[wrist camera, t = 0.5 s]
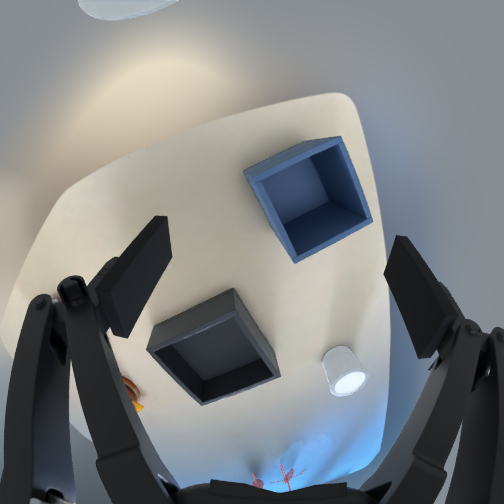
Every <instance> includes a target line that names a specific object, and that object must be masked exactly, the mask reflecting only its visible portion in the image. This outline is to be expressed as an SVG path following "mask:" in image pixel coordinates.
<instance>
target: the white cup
mask: <svg viewBox="0 0 504 504" xmlns="http://www.w3.org/2000/svg"><path fill="white" fill-rule="evenodd" d="M322 364H323V367H324V370H325V374H326V377H327V380H328V384H329V387H330V390H331V392H332V394H333V395H335V396H338V397H339V396H347V395H350V394H353V393H354V392H356V391H358V390H359V389H360V388H362V387H363V386H364V385H365V383H366V382H367V380H368V376H369V374H368V372H367V370H366V369H365V367H364V366H363V365H362V364H361V362H360V361H359V360H358V359H357V357H356V356H355V355H354V354H353V352H352V351H351V350H350V349H349V348H348V347H346V346H337V347H334V348H332V349H330V350H329V351H328V352H327V353H326V354H325V355H324V357H323V359H322Z"/></svg>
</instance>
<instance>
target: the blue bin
mask: <svg viewBox="0 0 504 504" xmlns="http://www.w3.org/2000/svg"><path fill="white" fill-rule="evenodd" d="M243 173H244V174H245V176H246V178H247V180H248V182H249V184H250V186H251V188H252V190H253V192H254V194H255V196H256V198H257V200H258V201H259V203H260V205H261V207H262V209H263V211H264V213H265V215H266V217H267V219H268V221H269V223H270V225H271V227H272V229H273V231H274V233H275V234H276V236H277V237H278V239H279V241H280V242H281V244H282V245H283V247H284V248H285V250H286V251H287V253H288V255H289V256H290V258H291V259H292V261H293V262H294V264H296V263H297V262H299V261H301V260H303V259H305V258H307V257H309V256H311V255H313V254H315V253H317V252H318V251H320V250H322V249H324V248H326V247H328V246H330V245H332V244H334V243H335V242H337V241H339V240H341V239H343V238H345V237H347V236H348V235H350V234H352V233H354V232H356V231H358V230H360V229H361V228H363V227H365V226H367V225H369V224H370V223H372V222H373V219H372V217H371V213H370V210H369V207H368V204H367V201H366V198H365V195H364V193H363V190H362V187H361V184H360V182H359V179H358V176H357V174H356V171H355V169H354V166H353V164H352V161H351V159H350V156H349V154H348V151H347V149H346V147H345V144H344V142H343V140H342V138H341V136H336V137H329V138H322V139H315V140H309V141H305V142H302V143H300V144H298V145H296V146H294V147H291V148H289V149H287V150H285V151H283V152H281V153H278V154H276V155H274V156H272V157H270V158H268V159H266V160H264V161H262V162H260V163H258V164H256V165H254V166H252V167H250V168H248V169H246V170H244V171H243Z"/></svg>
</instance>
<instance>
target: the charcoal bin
mask: <svg viewBox="0 0 504 504" xmlns="http://www.w3.org/2000/svg"><path fill="white" fill-rule="evenodd" d="M146 350H147V351H148V352H149V353H150V355H151V356H152V357H153V358H154V359H155V360H156V361H157V362H158V363H159V365H160V366H161V367H162V368H163V369H164V370H165V371H166V372H167V373H168V374H169V375H170V376H171V377H172V378H173V379H174V380H175V381H176V382H177V383H178V384H179V385H180V386H181V387H182V388H183V389H184V390H185V391H186V392H187V393H188V394H189V395H190V396H191V397H192V398H193V399H194V400H196V401H197V402H198V403H199V404H200V405H201V406H203V405H206V404H209V403H212V402H215V401H218V400H221V399H224V398H227V397H230V396H233V395H236V394H238V393H241V392H244V391H246V390H249V389H252V388H254V387H257V386H259V385H262V384H264V383H267V382H269V381H272V380H274V379H276V378H279V377H281V375H280V371H279V367H278V363H277V359H276V356H275V352H274V351H273V349H272V348H271V346H270V345H269V343H268V341H267V340H266V338H265V337H264V335H263V334H262V332H261V331H260V329H259V328H258V326H257V324H256V323H255V321H254V320H253V318H252V317H251V315H250V313H249V312H248V310H247V309H246V307H245V306H244V304H243V302H242V301H241V299H240V298H239V296H238V294H237V293H236V291H235V290H234V288H232V289H230V290H228V291H226V292H224V293H222V294H220V295H218V296H216V297H214V298H212V299H210V300H208V301H206V302H204V303H201V304H199V305H197V306H195V307H193V308H191V309H189V310H187V311H185V312H183V313H181V314H179V315H177V316H174V317H172V318H170V319H168V320H166V321H164V322H162V323H160V324H158V325H155V326H154V327H153V330H152V333H151V336H150V339H149V342H148V345H147V348H146Z"/></svg>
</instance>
